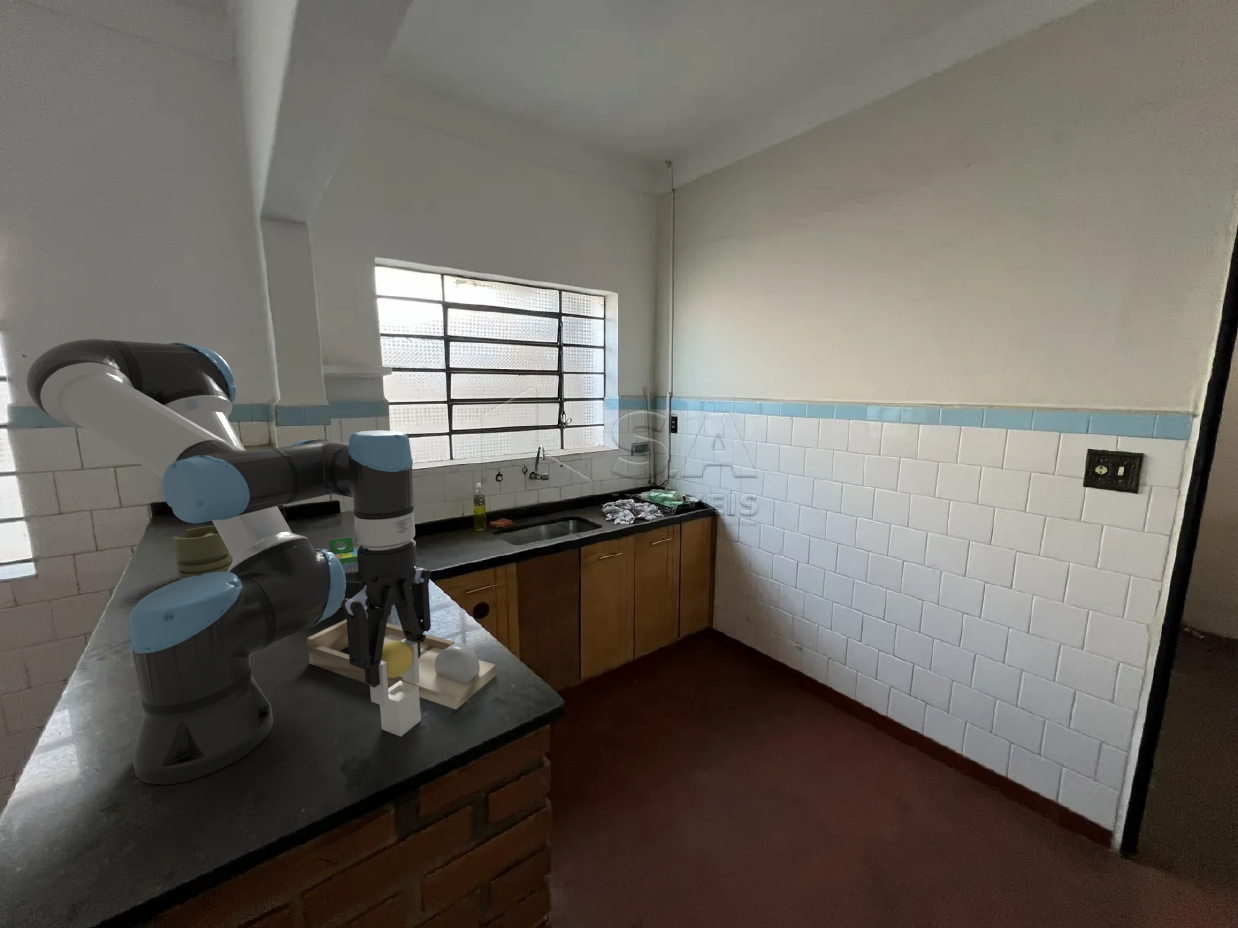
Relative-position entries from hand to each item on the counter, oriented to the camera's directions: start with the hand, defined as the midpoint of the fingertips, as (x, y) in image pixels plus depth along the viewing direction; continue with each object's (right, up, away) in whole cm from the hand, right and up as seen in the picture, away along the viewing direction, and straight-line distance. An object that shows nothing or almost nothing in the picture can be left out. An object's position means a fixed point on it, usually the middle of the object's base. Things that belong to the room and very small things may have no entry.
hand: (396, 690), depth 73 cm
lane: (-6, -3, +15) cm, 16 cm away
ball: (0, +5, -1) cm, 5 cm away
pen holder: (-22, 0, +34) cm, 40 cm away
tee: (+1, -5, +1) cm, 5 cm away
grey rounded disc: (+6, -4, +10) cm, 12 cm away
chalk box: (-31, +2, +43) cm, 53 cm away
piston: (-75, +4, +56) cm, 94 cm away
